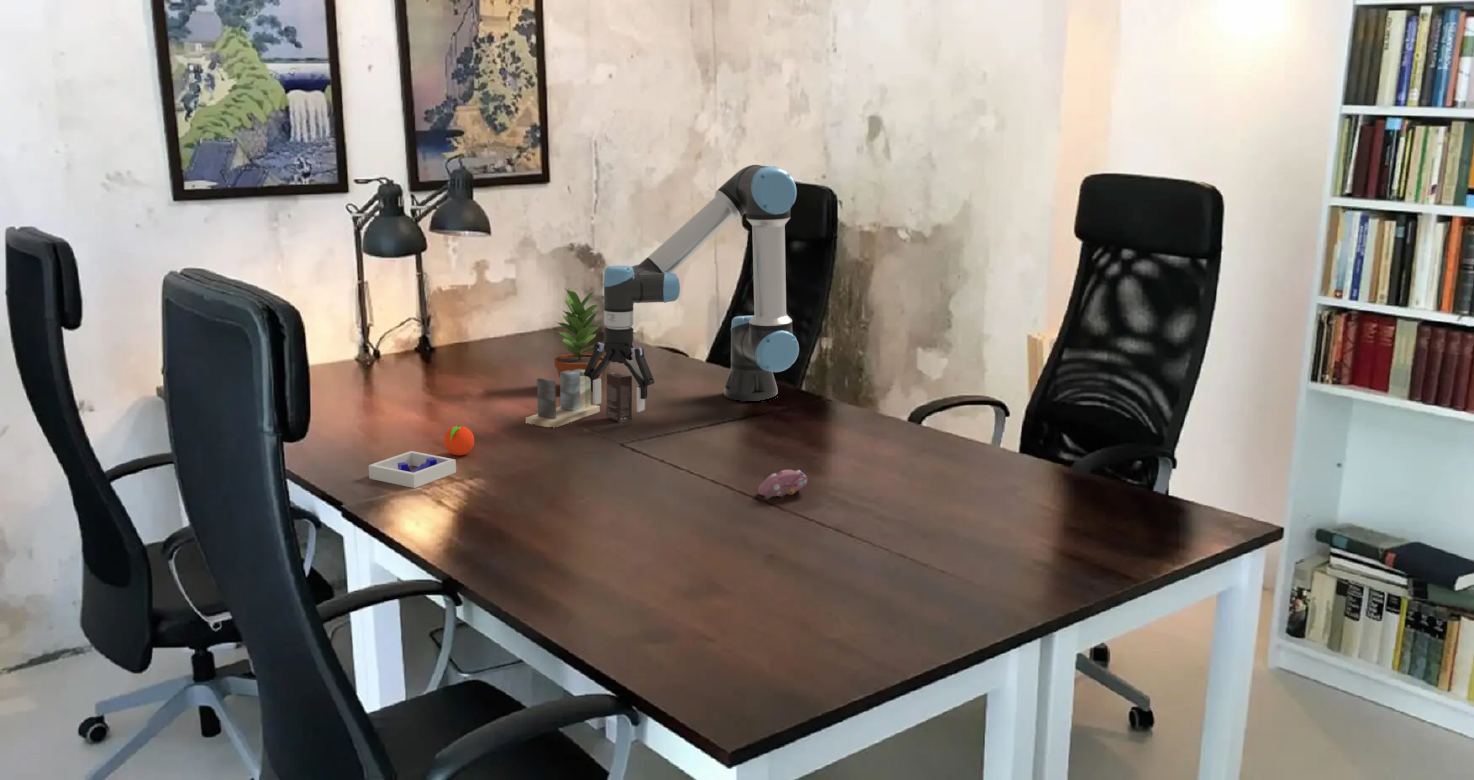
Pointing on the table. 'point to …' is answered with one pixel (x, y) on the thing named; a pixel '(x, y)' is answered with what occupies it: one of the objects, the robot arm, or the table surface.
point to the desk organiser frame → (391, 474)
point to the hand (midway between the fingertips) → (618, 407)
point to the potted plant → (577, 334)
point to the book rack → (563, 400)
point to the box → (619, 397)
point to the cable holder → (428, 463)
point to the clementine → (459, 440)
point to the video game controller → (783, 482)
